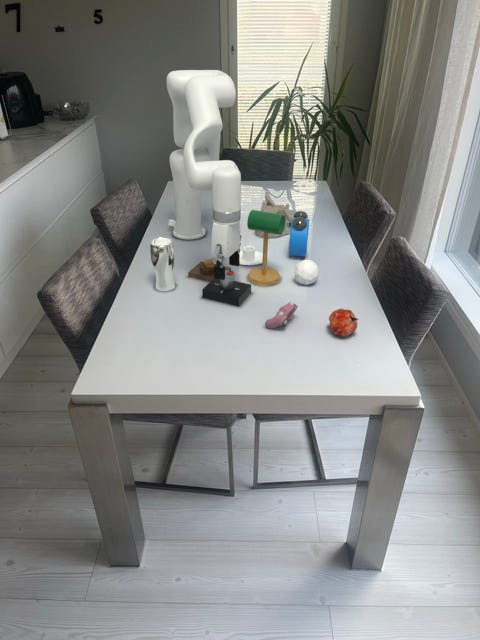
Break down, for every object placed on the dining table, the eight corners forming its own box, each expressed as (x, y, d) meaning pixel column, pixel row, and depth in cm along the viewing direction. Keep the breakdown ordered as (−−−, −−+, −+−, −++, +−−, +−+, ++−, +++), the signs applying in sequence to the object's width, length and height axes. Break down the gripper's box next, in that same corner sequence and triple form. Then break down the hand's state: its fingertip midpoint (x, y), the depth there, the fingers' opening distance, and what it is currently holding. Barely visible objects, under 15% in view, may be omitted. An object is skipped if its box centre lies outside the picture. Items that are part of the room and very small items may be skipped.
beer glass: (158, 294, 139) (153, 248, 130) (150, 284, 144) (146, 239, 136) (179, 289, 141) (176, 243, 133) (171, 279, 147) (168, 235, 138)
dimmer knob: (217, 288, 136) (217, 273, 133) (223, 282, 139) (223, 268, 136) (230, 291, 134) (230, 276, 132) (235, 285, 138) (236, 270, 135)
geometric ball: (309, 292, 146) (317, 282, 138) (287, 281, 146) (293, 270, 139) (318, 274, 149) (326, 262, 141) (296, 263, 149) (303, 251, 141)
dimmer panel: (202, 298, 137) (202, 288, 135) (216, 285, 144) (215, 276, 142) (238, 307, 133) (239, 297, 131) (251, 293, 140) (251, 284, 138)
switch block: (188, 276, 148) (187, 267, 146) (201, 265, 155) (201, 256, 153) (218, 284, 144) (218, 274, 143) (231, 272, 151) (231, 262, 149)
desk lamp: (243, 282, 146) (244, 215, 134) (255, 269, 153) (257, 205, 141) (272, 288, 142) (276, 220, 130) (283, 275, 150) (288, 210, 138)
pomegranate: (322, 341, 123) (348, 336, 114) (316, 314, 123) (341, 308, 114) (343, 335, 127) (369, 330, 118) (336, 310, 127) (362, 303, 118)
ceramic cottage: (251, 235, 177) (255, 197, 169) (260, 222, 191) (264, 186, 183) (291, 242, 174) (297, 203, 167) (297, 228, 188) (303, 191, 180)
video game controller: (275, 336, 123) (287, 320, 118) (262, 325, 124) (273, 309, 119) (291, 319, 130) (303, 304, 125) (279, 309, 131) (290, 293, 126)
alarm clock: (305, 263, 157) (309, 221, 149) (287, 261, 158) (290, 220, 150) (306, 247, 168) (310, 208, 160) (290, 246, 169) (292, 207, 161)
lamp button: (202, 267, 147) (201, 262, 146) (207, 262, 150) (207, 257, 149) (212, 269, 146) (211, 264, 145) (217, 264, 149) (217, 259, 148)
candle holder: (248, 249, 167) (249, 238, 164) (273, 259, 160) (274, 248, 157) (224, 259, 160) (224, 247, 157) (249, 270, 153) (249, 258, 150)
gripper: (228, 204, 132) (228, 258, 142) (199, 223, 119) (201, 281, 128) (251, 207, 130) (250, 262, 139) (225, 227, 117) (225, 287, 126)
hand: (227, 271), depth 134 cm, fingers open, 9 cm apart
